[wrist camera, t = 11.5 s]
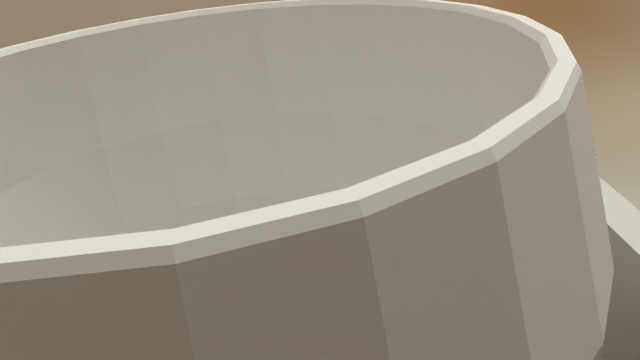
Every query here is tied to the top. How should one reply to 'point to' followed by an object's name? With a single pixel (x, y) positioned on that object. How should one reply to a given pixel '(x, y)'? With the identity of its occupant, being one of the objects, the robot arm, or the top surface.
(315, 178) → the cup
